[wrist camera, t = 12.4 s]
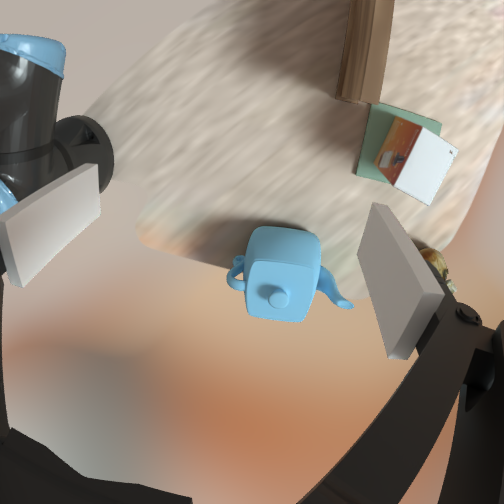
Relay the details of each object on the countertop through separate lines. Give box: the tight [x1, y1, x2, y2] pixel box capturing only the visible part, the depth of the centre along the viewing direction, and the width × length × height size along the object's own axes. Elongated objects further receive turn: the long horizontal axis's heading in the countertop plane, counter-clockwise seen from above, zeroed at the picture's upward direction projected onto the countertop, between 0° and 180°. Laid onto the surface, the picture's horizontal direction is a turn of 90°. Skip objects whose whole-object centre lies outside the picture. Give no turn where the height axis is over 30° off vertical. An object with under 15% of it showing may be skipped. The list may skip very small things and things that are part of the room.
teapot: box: [227, 226, 354, 322], centre depth 46 cm, size 12×18×12 cm
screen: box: [335, 0, 395, 105], centre depth 28 cm, size 3×17×14 cm, turn 172°
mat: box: [356, 103, 442, 184], centre depth 39 cm, size 11×11×1 cm
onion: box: [419, 248, 457, 294], centre depth 44 cm, size 8×8×8 cm
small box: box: [374, 116, 459, 206], centre depth 35 cm, size 8×6×10 cm
